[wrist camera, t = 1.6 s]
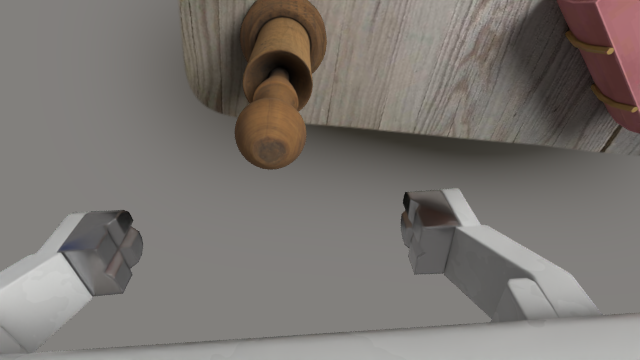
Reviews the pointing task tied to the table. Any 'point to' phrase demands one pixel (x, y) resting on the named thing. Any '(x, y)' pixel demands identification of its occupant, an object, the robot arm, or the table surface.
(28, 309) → the robot arm
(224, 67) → the table surface
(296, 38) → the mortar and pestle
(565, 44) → the table surface
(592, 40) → the book
